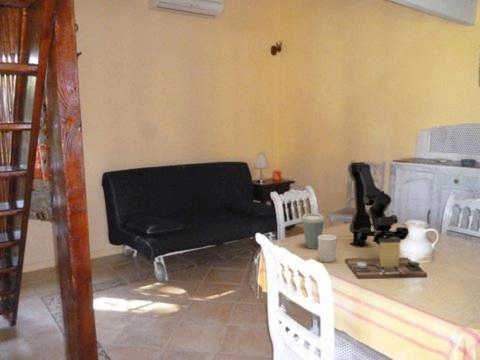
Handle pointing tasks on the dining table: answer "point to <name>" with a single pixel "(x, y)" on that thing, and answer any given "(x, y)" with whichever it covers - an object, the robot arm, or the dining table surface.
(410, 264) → the black rocker switch
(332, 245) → the white cup
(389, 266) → the yellow upright block
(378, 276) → the control panel
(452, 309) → the dining table surface
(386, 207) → the robot arm
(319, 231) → the disposable coffee cup
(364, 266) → the grey push button
